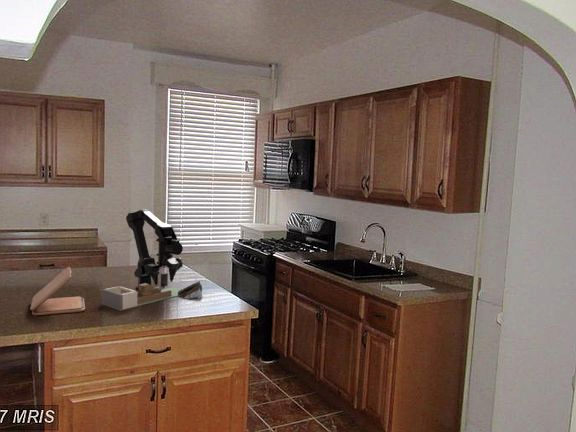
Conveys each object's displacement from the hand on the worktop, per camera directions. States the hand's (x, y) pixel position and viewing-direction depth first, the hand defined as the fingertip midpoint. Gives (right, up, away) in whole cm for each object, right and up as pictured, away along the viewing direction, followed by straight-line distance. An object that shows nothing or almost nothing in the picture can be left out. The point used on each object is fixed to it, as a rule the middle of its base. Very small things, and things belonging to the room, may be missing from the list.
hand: (163, 283), depth 239 cm
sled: (-4, -5, -4) cm, 7 cm away
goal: (-14, -7, -19) cm, 25 cm away
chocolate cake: (+13, -7, -1) cm, 15 cm away
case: (-39, -7, -25) cm, 47 cm away
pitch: (-6, -6, -7) cm, 11 cm away
